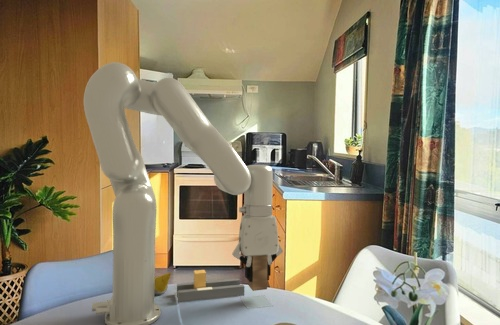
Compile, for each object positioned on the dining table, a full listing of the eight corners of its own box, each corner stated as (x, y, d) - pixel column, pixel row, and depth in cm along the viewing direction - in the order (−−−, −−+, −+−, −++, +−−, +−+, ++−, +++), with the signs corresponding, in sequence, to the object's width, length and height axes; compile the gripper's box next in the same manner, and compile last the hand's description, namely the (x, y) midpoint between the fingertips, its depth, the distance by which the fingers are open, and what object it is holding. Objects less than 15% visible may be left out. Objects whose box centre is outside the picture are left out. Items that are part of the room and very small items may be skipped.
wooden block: (252, 290, 86) (253, 252, 86) (248, 285, 90) (248, 248, 90) (267, 289, 87) (267, 251, 87) (262, 283, 91) (262, 247, 91)
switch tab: (194, 292, 90) (195, 273, 90) (193, 289, 93) (193, 270, 93) (205, 291, 91) (205, 272, 91) (204, 288, 94) (204, 269, 94)
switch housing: (178, 303, 87) (178, 292, 87) (176, 294, 93) (176, 283, 93) (244, 297, 92) (244, 285, 92) (238, 288, 98) (238, 278, 98)
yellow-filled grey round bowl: (163, 289, 98) (181, 270, 94) (156, 303, 93) (176, 285, 89) (148, 279, 97) (166, 260, 93) (140, 293, 92) (159, 274, 88)
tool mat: (247, 310, 84) (247, 308, 84) (240, 299, 91) (240, 297, 91) (273, 307, 86) (273, 305, 86) (264, 296, 93) (264, 295, 93)
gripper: (231, 214, 82) (230, 288, 82) (292, 212, 87) (292, 281, 87) (224, 210, 89) (224, 277, 89) (282, 208, 94) (281, 272, 94)
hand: (257, 278), depth 88 cm, fingers closed on wooden block, 4 cm apart
